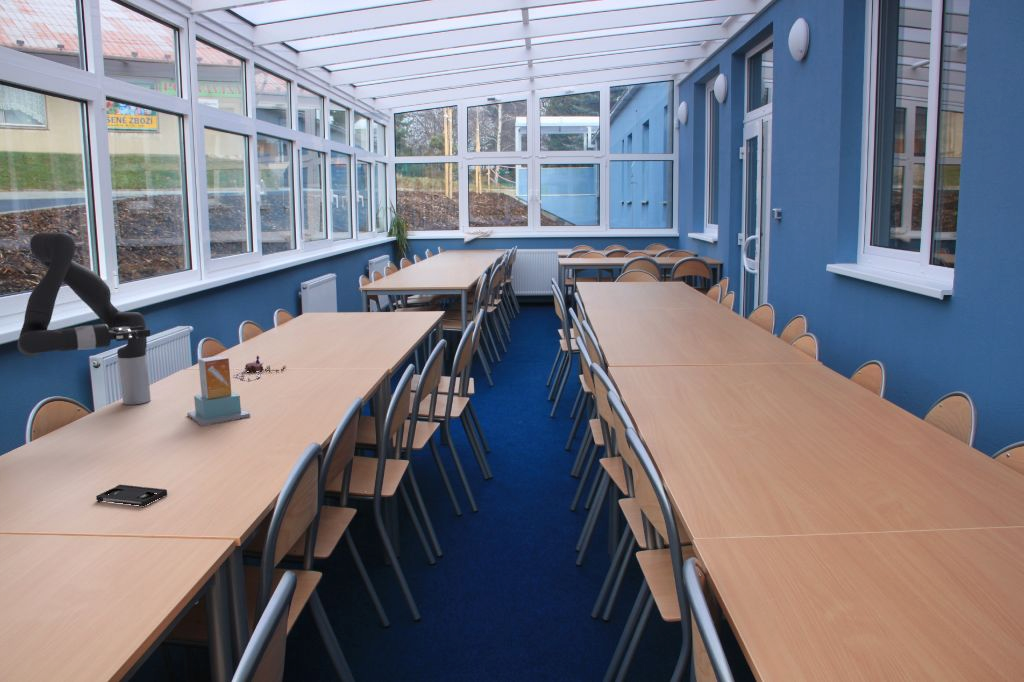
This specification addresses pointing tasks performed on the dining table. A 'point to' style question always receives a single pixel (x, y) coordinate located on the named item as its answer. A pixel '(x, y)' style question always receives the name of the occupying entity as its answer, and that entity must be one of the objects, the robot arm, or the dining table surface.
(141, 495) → the vhs tape
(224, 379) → the small box
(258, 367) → the playset
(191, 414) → the tower base
